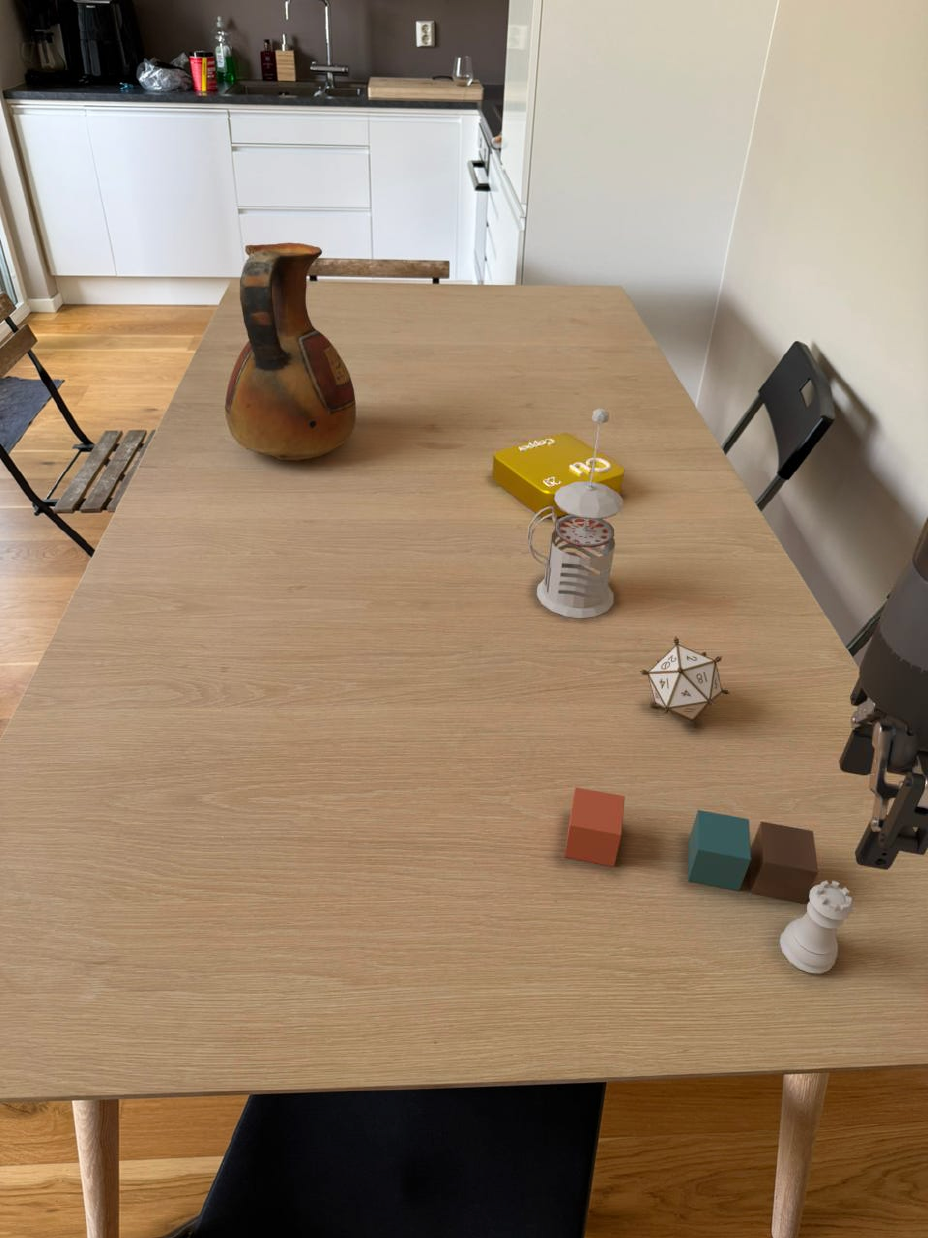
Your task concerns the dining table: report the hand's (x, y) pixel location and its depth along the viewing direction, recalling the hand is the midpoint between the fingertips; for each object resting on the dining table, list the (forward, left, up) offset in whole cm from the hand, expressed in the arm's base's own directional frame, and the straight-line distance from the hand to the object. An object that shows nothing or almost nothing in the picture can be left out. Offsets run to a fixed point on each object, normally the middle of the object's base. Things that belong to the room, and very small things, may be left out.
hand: (861, 814), depth 63 cm
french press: (+24, -45, -18) cm, 54 cm away
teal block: (+6, -7, -18) cm, 20 cm away
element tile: (+29, -72, -18) cm, 80 cm away
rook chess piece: (-1, 0, -18) cm, 18 cm away
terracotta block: (+17, -7, -18) cm, 26 cm away
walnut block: (+1, -7, -18) cm, 19 cm away
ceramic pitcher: (+71, -74, -18) cm, 104 cm away
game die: (+10, -27, -18) cm, 34 cm away
